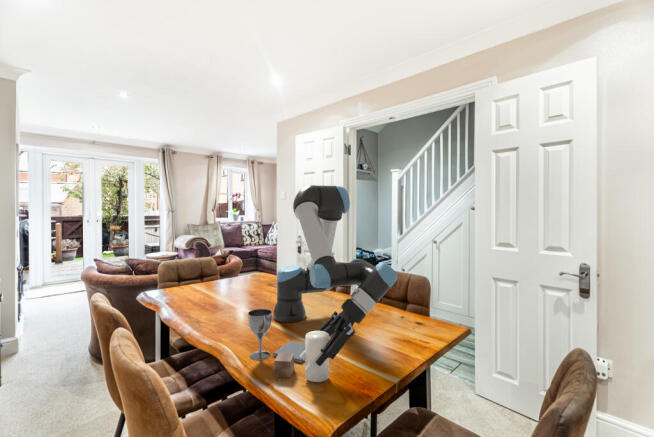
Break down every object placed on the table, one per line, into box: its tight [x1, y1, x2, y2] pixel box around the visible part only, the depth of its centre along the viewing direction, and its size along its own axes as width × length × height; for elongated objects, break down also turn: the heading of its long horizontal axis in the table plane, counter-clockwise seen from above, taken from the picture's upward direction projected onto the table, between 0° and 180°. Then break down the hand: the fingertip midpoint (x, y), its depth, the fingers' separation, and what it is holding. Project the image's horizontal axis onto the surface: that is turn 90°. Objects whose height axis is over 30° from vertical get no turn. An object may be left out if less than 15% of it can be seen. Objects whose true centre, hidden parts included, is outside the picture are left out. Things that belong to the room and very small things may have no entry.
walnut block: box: [273, 353, 295, 379], centre depth 95 cm, size 5×5×5 cm
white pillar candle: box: [304, 330, 330, 383], centre depth 91 cm, size 7×7×12 cm
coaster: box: [273, 340, 305, 364], centre depth 108 cm, size 11×11×1 cm
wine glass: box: [247, 308, 273, 361], centre depth 106 cm, size 8×8×15 cm
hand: (305, 365), depth 90 cm, fingers closed on white pillar candle, 7 cm apart
